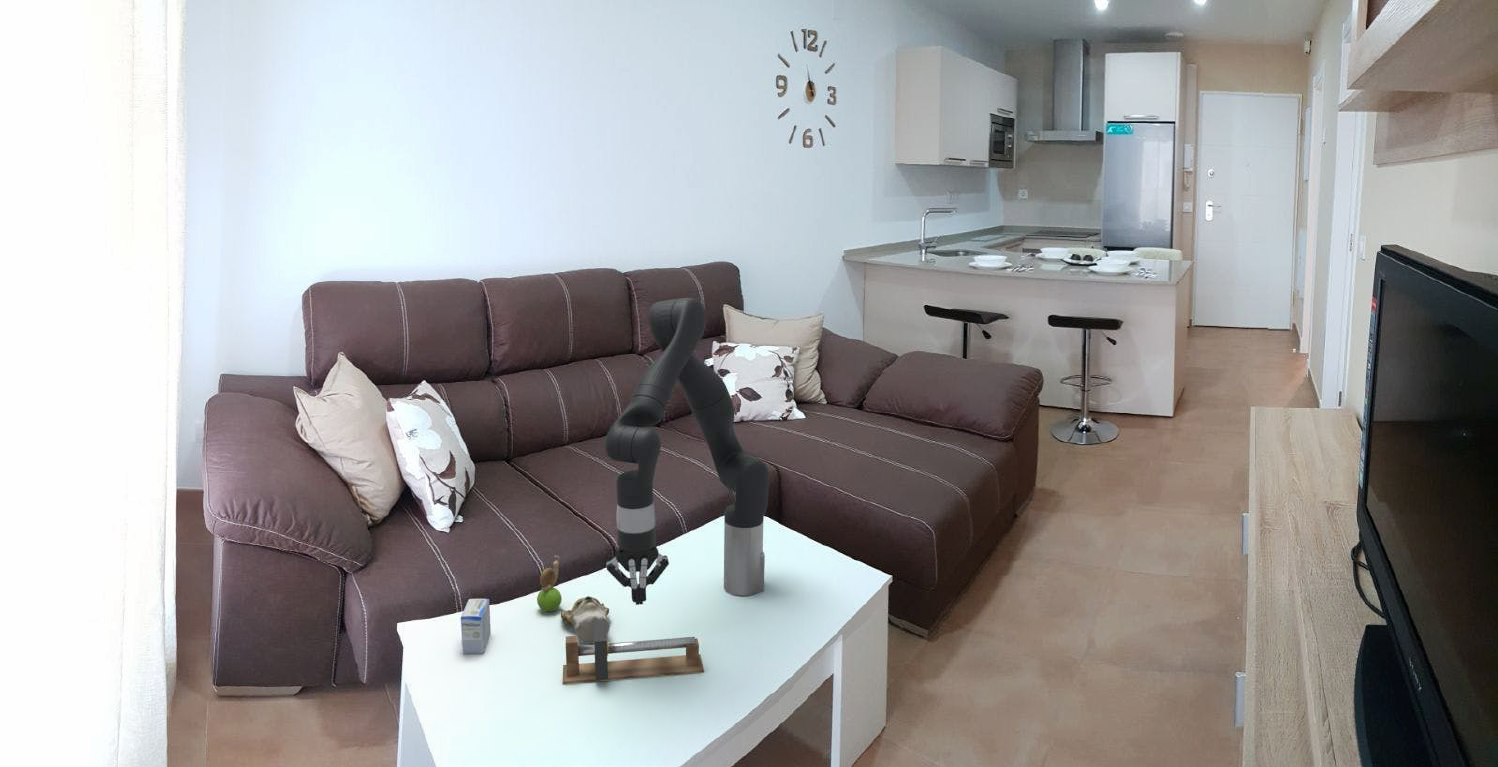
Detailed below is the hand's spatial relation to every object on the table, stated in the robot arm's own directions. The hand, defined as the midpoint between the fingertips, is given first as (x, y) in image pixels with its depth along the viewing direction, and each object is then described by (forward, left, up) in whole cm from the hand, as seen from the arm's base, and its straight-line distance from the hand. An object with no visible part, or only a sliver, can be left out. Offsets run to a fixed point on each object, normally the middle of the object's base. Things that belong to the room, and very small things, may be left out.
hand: (638, 602), depth 190 cm
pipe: (+2, +3, -9) cm, 10 cm away
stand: (+2, +3, -13) cm, 14 cm away
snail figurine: (+18, -25, -14) cm, 34 cm away
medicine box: (+34, -12, -14) cm, 38 cm away
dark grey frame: (+8, +3, -12) cm, 15 cm away
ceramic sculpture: (+10, -14, -14) cm, 22 cm away
